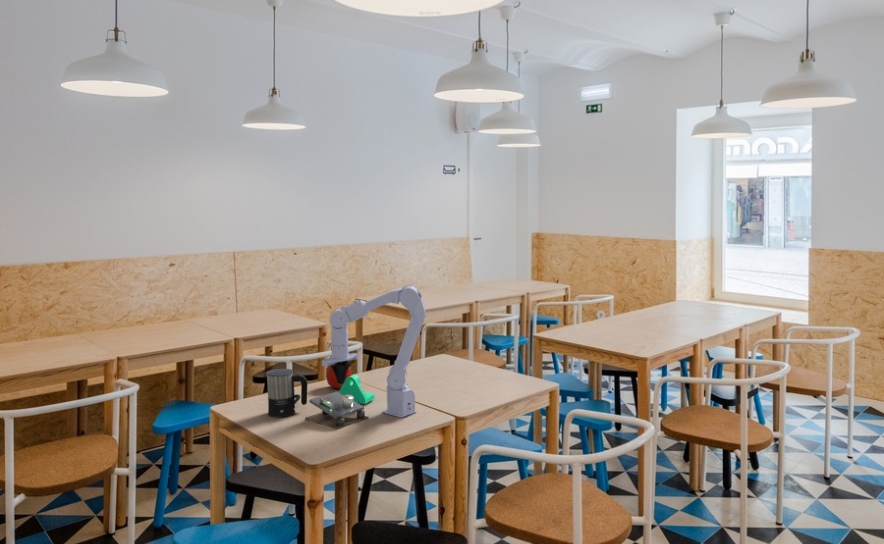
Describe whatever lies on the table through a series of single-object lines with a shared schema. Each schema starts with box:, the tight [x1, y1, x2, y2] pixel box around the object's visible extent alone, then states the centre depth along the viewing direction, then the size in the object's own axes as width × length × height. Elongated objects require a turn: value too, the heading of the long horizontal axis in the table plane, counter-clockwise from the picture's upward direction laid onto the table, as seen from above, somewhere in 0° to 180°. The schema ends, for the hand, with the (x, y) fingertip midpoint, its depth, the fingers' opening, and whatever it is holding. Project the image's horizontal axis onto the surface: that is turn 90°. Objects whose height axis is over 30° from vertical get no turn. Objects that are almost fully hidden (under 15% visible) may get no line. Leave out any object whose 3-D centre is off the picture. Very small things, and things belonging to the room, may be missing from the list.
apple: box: [325, 365, 353, 390], centre depth 261 cm, size 10×10×12 cm
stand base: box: [304, 410, 369, 430], centre depth 223 cm, size 16×14×3 cm
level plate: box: [308, 391, 365, 419], centre depth 222 cm, size 14×12×4 cm
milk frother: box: [264, 368, 308, 418], centre depth 233 cm, size 14×16×15 cm
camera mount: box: [338, 374, 376, 404], centre depth 243 cm, size 12×8×10 cm, turn 68°
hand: (340, 383), depth 229 cm, fingers closed
